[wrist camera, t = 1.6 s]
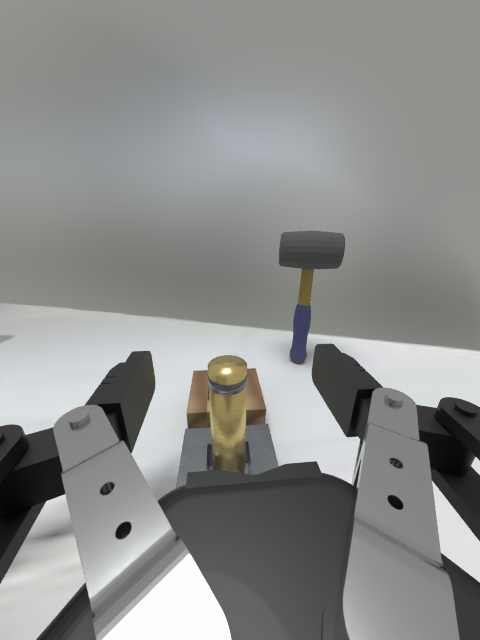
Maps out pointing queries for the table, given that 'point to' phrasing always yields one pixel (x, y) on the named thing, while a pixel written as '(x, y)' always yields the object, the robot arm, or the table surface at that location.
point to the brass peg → (228, 412)
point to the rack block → (201, 405)
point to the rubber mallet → (308, 274)
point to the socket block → (200, 451)
